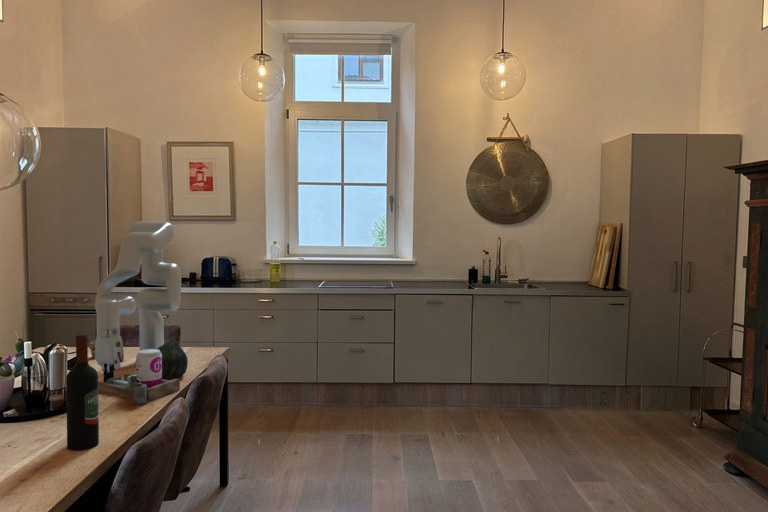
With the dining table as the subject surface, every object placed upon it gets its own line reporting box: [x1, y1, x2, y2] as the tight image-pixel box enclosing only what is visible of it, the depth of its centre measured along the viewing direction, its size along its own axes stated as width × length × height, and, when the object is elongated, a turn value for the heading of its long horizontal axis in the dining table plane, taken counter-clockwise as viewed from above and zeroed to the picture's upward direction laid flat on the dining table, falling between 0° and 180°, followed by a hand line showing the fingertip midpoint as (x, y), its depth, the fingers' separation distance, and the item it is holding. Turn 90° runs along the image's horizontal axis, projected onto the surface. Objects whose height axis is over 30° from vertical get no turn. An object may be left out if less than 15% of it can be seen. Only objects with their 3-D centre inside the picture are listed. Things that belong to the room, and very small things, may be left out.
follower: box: [107, 374, 136, 388], centre depth 198 cm, size 10×14×6 cm
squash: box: [157, 340, 189, 380], centre depth 212 cm, size 14×15×15 cm
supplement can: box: [135, 349, 162, 388], centre depth 193 cm, size 8×8×15 cm
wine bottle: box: [65, 334, 100, 452], centre depth 148 cm, size 8×8×30 cm
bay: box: [98, 372, 181, 407], centre depth 194 cm, size 19×27×9 cm
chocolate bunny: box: [88, 338, 96, 359], centre depth 240 cm, size 6×8×10 cm
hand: (108, 381), depth 202 cm, fingers closed
